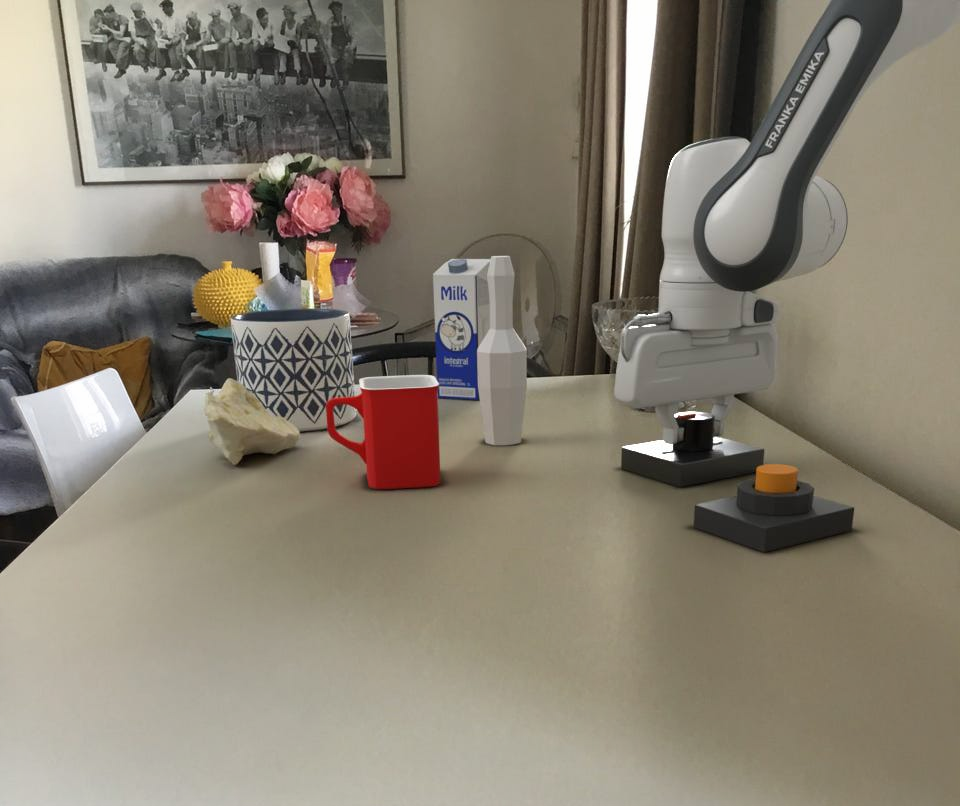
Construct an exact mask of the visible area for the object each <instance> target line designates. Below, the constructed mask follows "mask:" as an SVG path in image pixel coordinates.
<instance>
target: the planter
mask: <svg viewBox="0 0 960 806" xmlns="http://www.w3.org/2000/svg"><path fill="white" fill-rule="evenodd" d="M230 327H231V336H232V344H233V355H234V364H235V373H236V381H237V382H239V383H241V384H243V385H244V387H245V388H246V389H247V390H248V391H251V392H252V393H253V394H254V395H255V396H256V397H257V398H258V399H259V401H260V402H261V403H262V405H263V406H264V408H265V409H266V410H267V412H268V414H269V415H270V416H271V417H275V416H278V417H279V418H280V417H283V418H285V419H286V420H287V421H288V422H290V423H292V424H293V425H294V426H295V427H296V428H297V429H298V431H299V432H312V431H320V430H325V429H327V417H326V403H327V402H328V401H329V400H330V399H332V398H339V397H351V396H356V391H355V389H356V388H355V373H354V360H353V345H352V344H353V343H352V331H351V317H350V313H349V311H347V310H343V309H334V308H283V309H281V308H280V309H268V310H255V311H248V312H242V313H237V314H235V315H232V316H231V317H230ZM333 413H334V423H335V428H336V427H340V426H343V425H345V424H347V423H349V422H351V421H352V420H354V419H355V418H356V416H357V409H355V408H354V407H352V406H349V405H336V406H335V407H334V409H333Z"/></svg>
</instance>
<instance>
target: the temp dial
mask: <svg viewBox="0 0 960 806" xmlns="http://www.w3.org/2000/svg"><path fill="white" fill-rule="evenodd" d="M674 416H675V419H676V422H677V424H678V426H680V427H684V434H683V437H684V440H683V442H682V443H678V444H673V445H672V447H673V448H674V449H677V450H681V451H689V452H700V451H707V450H710V449H712V448H713V437H714V422H715V416H714V415H713V414H711V412H710V413H709V412H704V411H703V412H702V411H684V412H683V411H682V412H677V413H674Z"/></svg>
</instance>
